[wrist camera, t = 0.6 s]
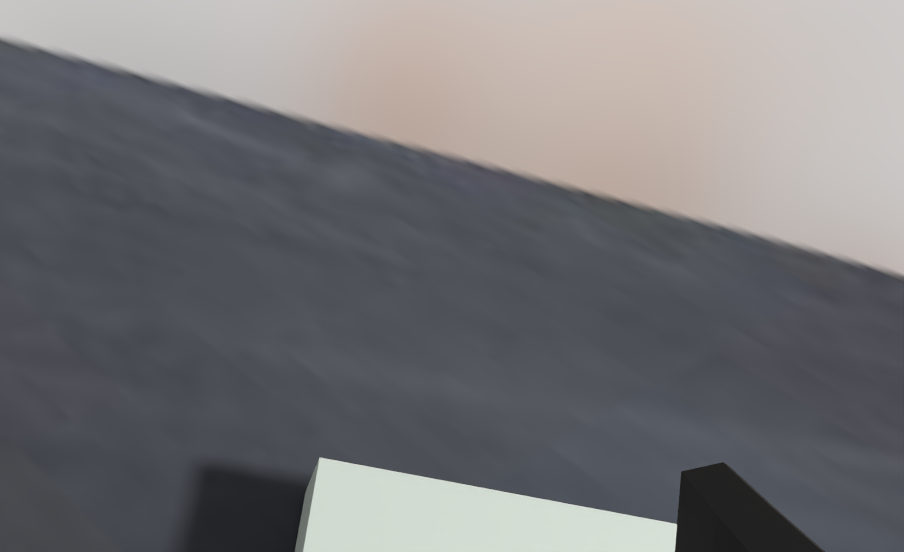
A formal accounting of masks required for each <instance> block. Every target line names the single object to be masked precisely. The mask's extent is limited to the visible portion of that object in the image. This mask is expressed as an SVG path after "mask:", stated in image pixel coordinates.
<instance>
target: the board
mask: <svg viewBox="0 0 904 552" xmlns="http://www.w3.org/2000/svg"><path fill="white" fill-rule="evenodd" d="M676 532H677V524H673V523H668V522H662V521H657V520H652V519H646V518H641V517H636V516H630V515H625V514H620V513H614V512H609V511H603V510H598V509H593V508H587V507H582V506H577V505H571V504H566V503H561V502H555V501H550V500H545V499H539V498H534V497H528V496H523V495H518V494H512V493H507V492H502V491H496V490H491V489H486V488H480V487H475V486H470V485H464V484H459V483H453V482H448V481H443V480H437V479H432V478H427V477H421V476H416V475H411V474H405V473H400V472H395V471H389V470H384V469H378V468H373V467H368V466H362V465H357V464H352V463H346V462H341V461H336V460H330V459H325V458H319V460H318V463H317V465H316V467H315V470H314V472H313V475H312V477H311V479H310V482H309V484H308V487H307V489H306V492H305V498H304V503H303V509H302V514H301V520H300V525H299V530H298V536H297V541H296V547H295V552H675V545H676Z"/></svg>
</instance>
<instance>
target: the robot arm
mask: <svg viewBox="0 0 904 552" xmlns="http://www.w3.org/2000/svg"><path fill="white" fill-rule="evenodd" d="M675 552H825V551H824V550H823V549H821V548H820V547H819V546H818V545H817V544H816V543H814V542H813V541H812V540H811V539H810V538H809V537H807V536H806V535H805V534H804V533H803V532H802V531H801V530H799V529H798V528H797V527H796V526H795V525H794V524H793V523H792V522H790V521H789V520H788V519H787V518H786V517H785V516H784V515H782V514H781V513H780V512H779V511H778V510H777V509H776V508H775V507H773V506H772V505H771V504H770V503H769V502H768V501H767V500H766V499H765V498H764V497H762V496H761V495H760V494H759V493H758V492H757V491H756V490H755V489H754V488H753V487H751V486H750V485H749V484H748V483H747V482H746V481H745V480H744V479H743V478H742V477H740V476H739V475H738V474H737V473H736V472H735V471H734V470H733V469H732V468H731V467H729V466H728V465H726V464H725V463H724V462H723V463H718V464H714V465H709V466H705V467H700V468H696V469H691V470H687V471H682V472H681V483H680V496H679V508H678V520H677V532H676V545H675Z"/></svg>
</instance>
